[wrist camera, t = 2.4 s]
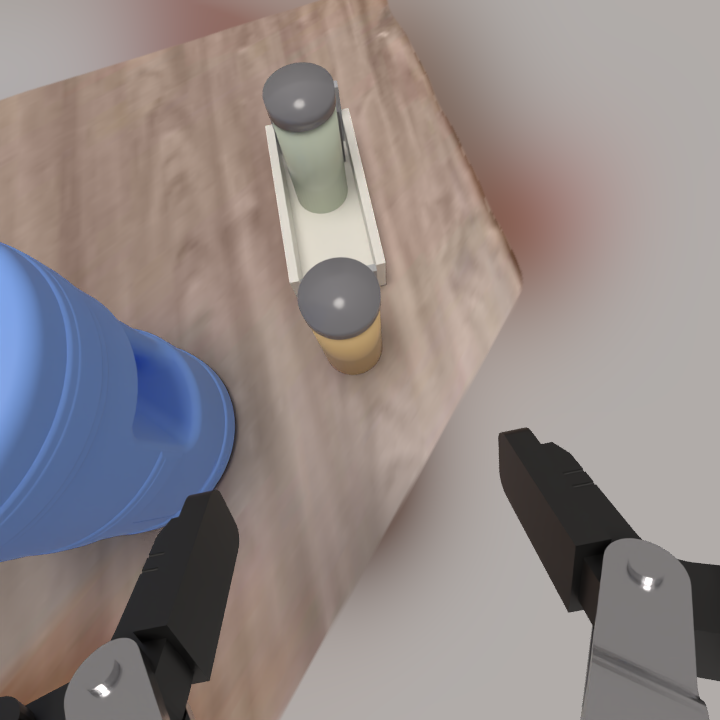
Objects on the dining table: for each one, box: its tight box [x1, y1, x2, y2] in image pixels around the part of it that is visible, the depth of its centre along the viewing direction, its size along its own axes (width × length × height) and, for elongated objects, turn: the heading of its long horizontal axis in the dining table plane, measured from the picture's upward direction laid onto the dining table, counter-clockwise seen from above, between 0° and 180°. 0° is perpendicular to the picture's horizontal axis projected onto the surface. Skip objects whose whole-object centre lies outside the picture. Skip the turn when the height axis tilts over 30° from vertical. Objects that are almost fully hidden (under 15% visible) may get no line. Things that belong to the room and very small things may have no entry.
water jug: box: [0, 242, 235, 562], centre depth 22 cm, size 16×16×28 cm
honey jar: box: [298, 257, 382, 375], centre depth 31 cm, size 5×5×11 cm
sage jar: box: [263, 63, 348, 214], centre depth 34 cm, size 5×5×11 cm
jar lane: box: [265, 81, 386, 298], centre depth 37 cm, size 18×8×7 cm, turn 11°
